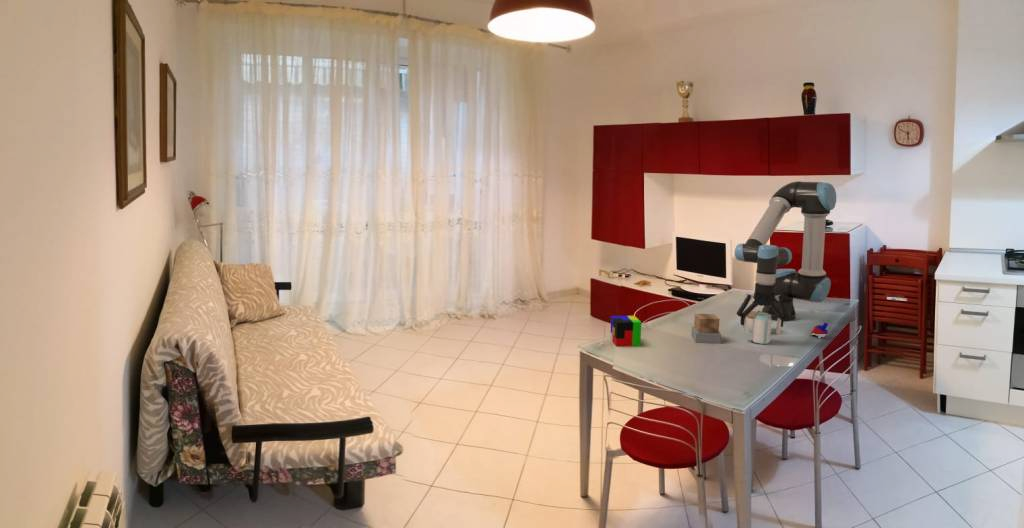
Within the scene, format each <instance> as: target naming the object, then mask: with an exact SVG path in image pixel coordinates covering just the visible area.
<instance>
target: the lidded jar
mask: <svg viewBox="0 0 1024 528" xmlns="http://www.w3.org/2000/svg"><path fill="white" fill-rule="evenodd" d="M755 313H764V312H762V311H761V310H756V311H755V310H752V311H751V312H750V313H749V314H748V315H747V316H746V318H747V324H746V329H748V330H749V332H751V333H752V327H753V317H754V316H755ZM767 314H768V313H767ZM770 317H772V316H771V315H770Z"/></svg>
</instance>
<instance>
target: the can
mask: <svg viewBox="0 0 1024 528" xmlns="http://www.w3.org/2000/svg"><path fill="white" fill-rule="evenodd" d="M772 321H773V320H772V319H771V317H770V314H767V313H755V316H754V317H753V327H752V332H751V341H752V342H753V343H754V342H755V343H754V344H757V343H761V344H760V345H767V344H769V343H770V342H771V333H772V332H771V331H772ZM766 343H767V344H766Z"/></svg>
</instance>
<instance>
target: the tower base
mask: <svg viewBox="0 0 1024 528" xmlns="http://www.w3.org/2000/svg"><path fill="white" fill-rule="evenodd" d="M690 333H691V337H692V339H693V340H694V342H695V343H696V344H721V342H722V333H721V332H720V331H719V333H699V332H698V331H697V330H696V329H695V328H694V326H691V331H690Z"/></svg>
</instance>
